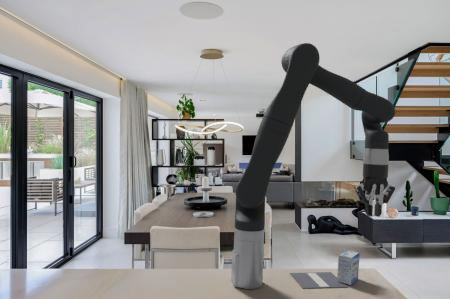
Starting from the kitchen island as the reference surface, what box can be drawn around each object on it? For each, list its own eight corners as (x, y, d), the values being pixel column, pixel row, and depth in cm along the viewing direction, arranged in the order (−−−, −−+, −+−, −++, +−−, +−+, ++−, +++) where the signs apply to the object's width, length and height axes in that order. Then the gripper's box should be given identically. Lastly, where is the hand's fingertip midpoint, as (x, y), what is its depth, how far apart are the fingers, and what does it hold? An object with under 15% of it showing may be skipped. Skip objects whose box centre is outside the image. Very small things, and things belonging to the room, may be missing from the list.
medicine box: (350, 285, 108) (352, 258, 108) (336, 281, 111) (338, 254, 111) (358, 278, 115) (360, 252, 115) (344, 275, 117) (346, 249, 117)
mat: (302, 288, 106) (302, 287, 106) (289, 273, 117) (289, 272, 117) (347, 287, 108) (347, 286, 108) (330, 272, 120) (330, 272, 120)
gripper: (361, 163, 108) (359, 218, 109) (402, 164, 110) (400, 218, 111) (349, 161, 116) (347, 213, 116) (388, 162, 118) (386, 213, 118)
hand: (373, 215), depth 114 cm, fingers closed
